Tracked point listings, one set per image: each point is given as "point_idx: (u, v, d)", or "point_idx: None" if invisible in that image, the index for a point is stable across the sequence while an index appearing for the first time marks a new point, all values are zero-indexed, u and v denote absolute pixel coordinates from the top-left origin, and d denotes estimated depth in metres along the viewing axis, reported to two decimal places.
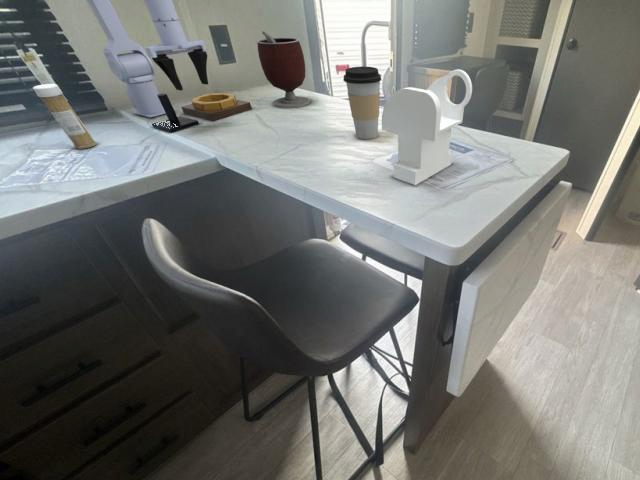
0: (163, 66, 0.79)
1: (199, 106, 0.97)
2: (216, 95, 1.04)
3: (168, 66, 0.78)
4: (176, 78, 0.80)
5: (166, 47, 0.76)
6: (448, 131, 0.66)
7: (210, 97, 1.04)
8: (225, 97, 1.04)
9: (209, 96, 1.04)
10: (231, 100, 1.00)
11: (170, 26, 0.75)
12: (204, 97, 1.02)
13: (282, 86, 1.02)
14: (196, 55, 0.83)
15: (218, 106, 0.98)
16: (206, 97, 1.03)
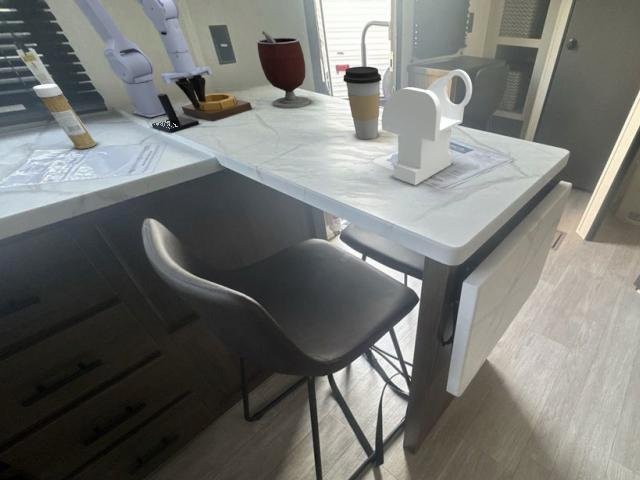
0: (183, 88, 0.94)
1: None
2: (216, 95, 1.04)
3: (188, 88, 0.92)
4: (194, 98, 0.95)
5: (178, 74, 0.89)
6: (448, 131, 0.66)
7: (210, 97, 1.04)
8: (225, 97, 1.04)
9: (209, 96, 1.04)
10: (231, 100, 1.00)
11: (182, 57, 0.88)
12: None
13: (282, 86, 1.02)
14: (195, 81, 0.94)
15: (218, 106, 0.98)
16: (206, 97, 1.03)
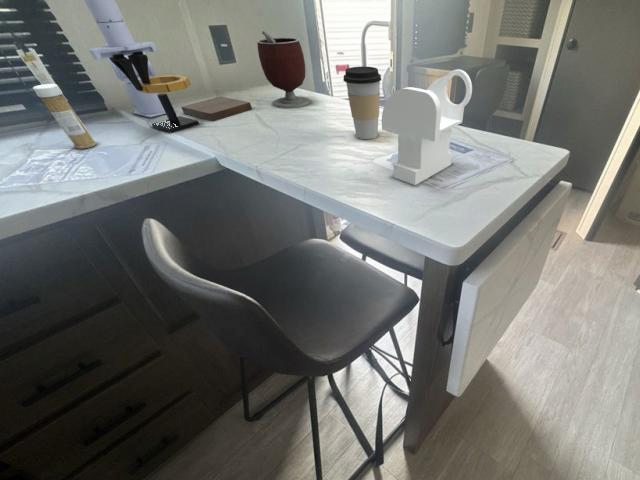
0: (121, 66, 0.80)
1: None
2: (166, 77, 0.90)
3: (126, 66, 0.78)
4: (135, 78, 0.81)
5: (111, 49, 0.75)
6: (448, 131, 0.66)
7: (159, 80, 0.89)
8: (177, 80, 0.90)
9: (158, 78, 0.89)
10: (181, 82, 0.85)
11: (114, 27, 0.73)
12: (151, 80, 0.88)
13: (282, 86, 1.02)
14: (135, 58, 0.80)
15: (165, 89, 0.83)
16: (154, 79, 0.88)
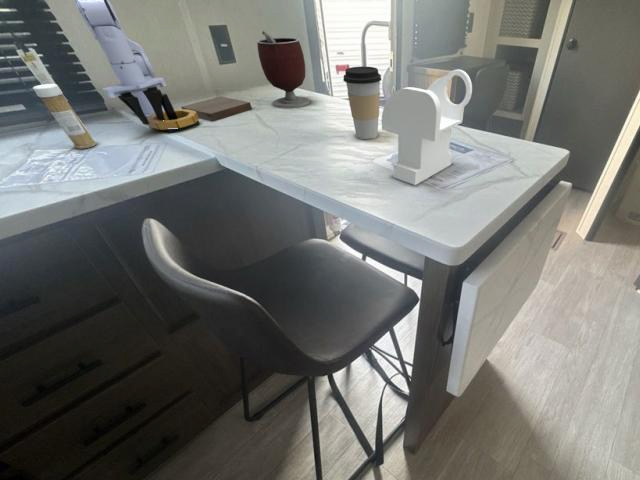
0: (129, 103, 0.83)
1: (154, 125, 0.88)
2: (175, 112, 0.94)
3: (133, 104, 0.81)
4: (142, 114, 0.84)
5: (124, 88, 0.79)
6: (448, 131, 0.66)
7: None
8: (185, 114, 0.95)
9: None
10: (190, 118, 0.90)
11: (127, 68, 0.78)
12: None
13: (282, 86, 1.02)
14: (150, 94, 0.84)
15: (175, 125, 0.88)
16: (164, 114, 0.93)
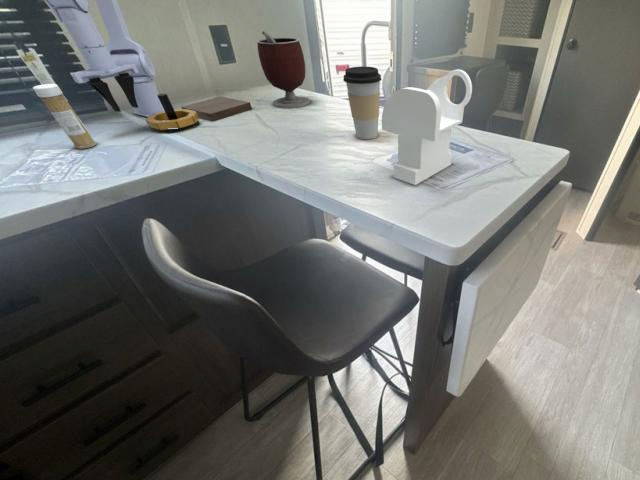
0: (99, 89, 0.82)
1: (154, 125, 0.88)
2: (175, 112, 0.94)
3: (102, 89, 0.80)
4: (112, 100, 0.83)
5: (92, 72, 0.78)
6: (448, 131, 0.66)
7: None
8: (185, 114, 0.95)
9: None
10: (190, 118, 0.90)
11: (95, 52, 0.76)
12: (162, 115, 0.93)
13: (282, 86, 1.02)
14: (122, 80, 0.83)
15: (175, 125, 0.88)
16: (164, 114, 0.93)
